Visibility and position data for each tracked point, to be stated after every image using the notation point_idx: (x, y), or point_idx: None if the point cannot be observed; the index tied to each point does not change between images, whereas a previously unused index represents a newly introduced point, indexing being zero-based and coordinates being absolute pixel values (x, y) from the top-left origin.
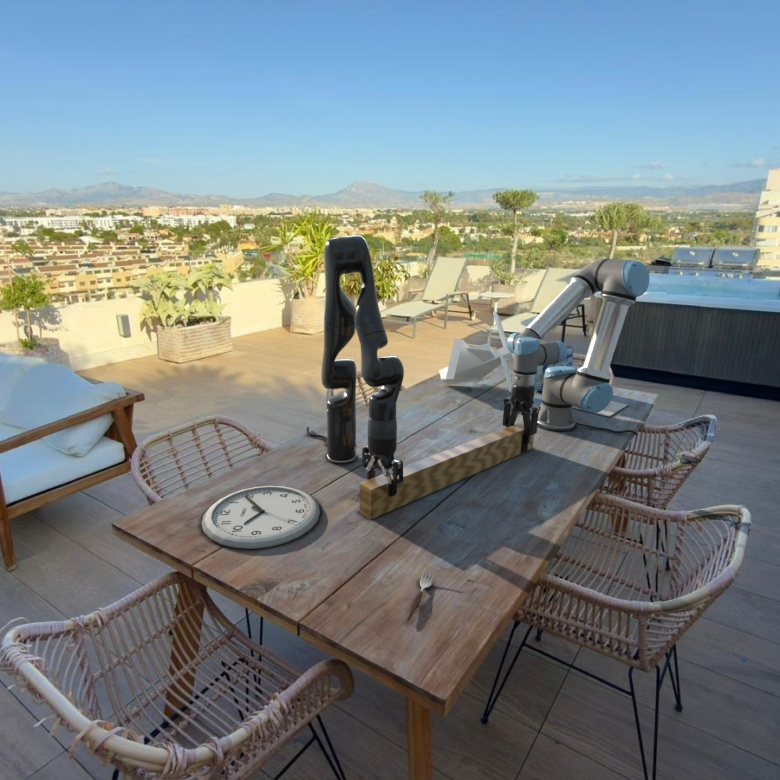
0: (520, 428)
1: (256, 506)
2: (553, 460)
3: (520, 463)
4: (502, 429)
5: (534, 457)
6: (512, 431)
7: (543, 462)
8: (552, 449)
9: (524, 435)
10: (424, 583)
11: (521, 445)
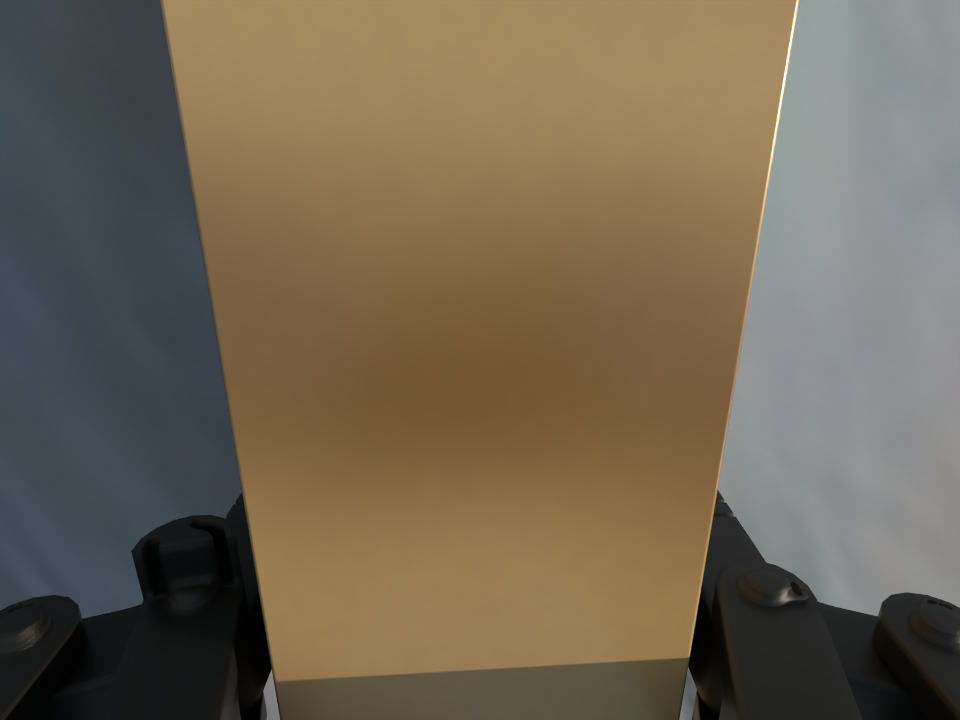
0: (385, 677)
1: None
2: (25, 502)
3: (153, 82)
4: (748, 181)
5: (203, 407)
6: (366, 313)
7: (31, 369)
8: None
9: (209, 523)
10: None
11: None
